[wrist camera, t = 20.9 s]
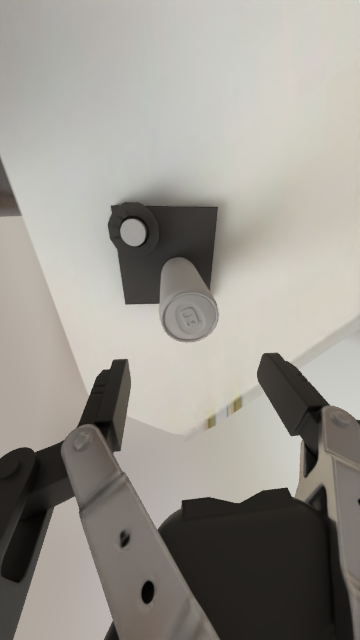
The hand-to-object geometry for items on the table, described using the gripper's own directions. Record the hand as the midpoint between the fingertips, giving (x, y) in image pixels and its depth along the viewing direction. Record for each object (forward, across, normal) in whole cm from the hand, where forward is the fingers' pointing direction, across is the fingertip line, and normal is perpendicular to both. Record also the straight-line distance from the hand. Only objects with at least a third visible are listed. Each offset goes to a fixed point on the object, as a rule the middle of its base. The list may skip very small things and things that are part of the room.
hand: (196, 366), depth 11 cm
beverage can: (+17, 0, -1) cm, 17 cm away
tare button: (+15, +5, -6) cm, 17 cm away
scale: (+18, +1, -3) cm, 18 cm away
